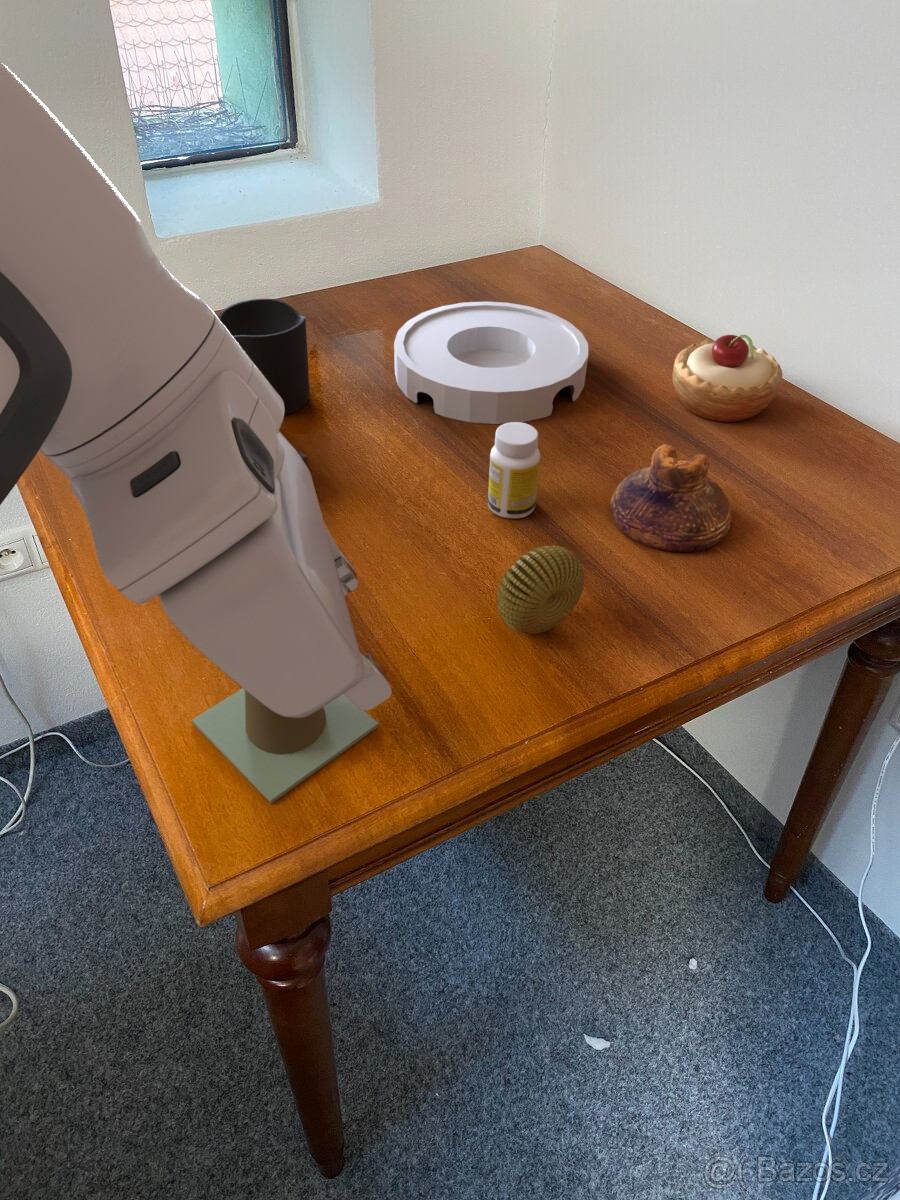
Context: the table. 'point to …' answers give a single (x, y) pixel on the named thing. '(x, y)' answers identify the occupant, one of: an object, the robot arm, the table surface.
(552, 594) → the sculpture
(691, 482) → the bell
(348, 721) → the mat
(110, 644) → the table surface
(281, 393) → the pen holder
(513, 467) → the supplement bottle
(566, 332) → the ashtray
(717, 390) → the pastry
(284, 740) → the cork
